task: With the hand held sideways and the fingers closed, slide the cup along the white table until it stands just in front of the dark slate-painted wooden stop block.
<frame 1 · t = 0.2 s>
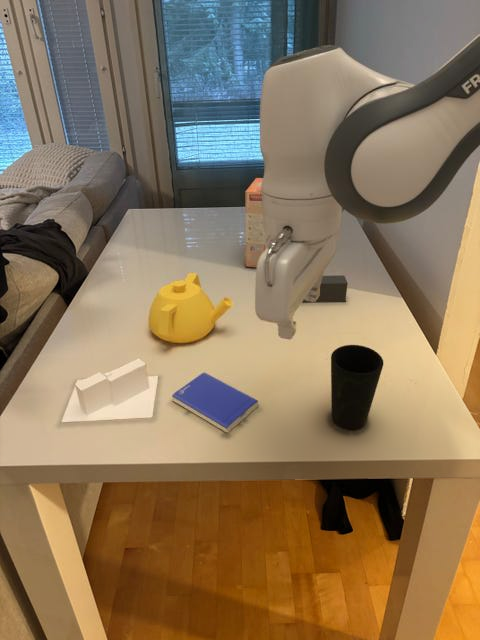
hand: (300, 316, 60), 22 cm above the table, tool pointing down, fingers open, 8 cm apart
stop block: (314, 298, 111), on the table
teapot: (192, 330, 100), on the table
napkin holder: (112, 398, 81), on the table
cup: (348, 419, 76), on the table
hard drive: (215, 404, 80), on the table
cracker box: (260, 259, 132), on the table
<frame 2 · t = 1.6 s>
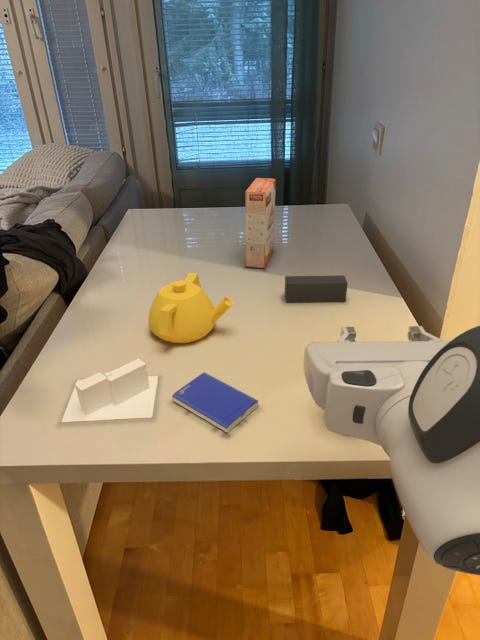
hand: (380, 331, 58), 22 cm above the table, tool horizontal, fingers open, 7 cm apart
nothing on the table moved.
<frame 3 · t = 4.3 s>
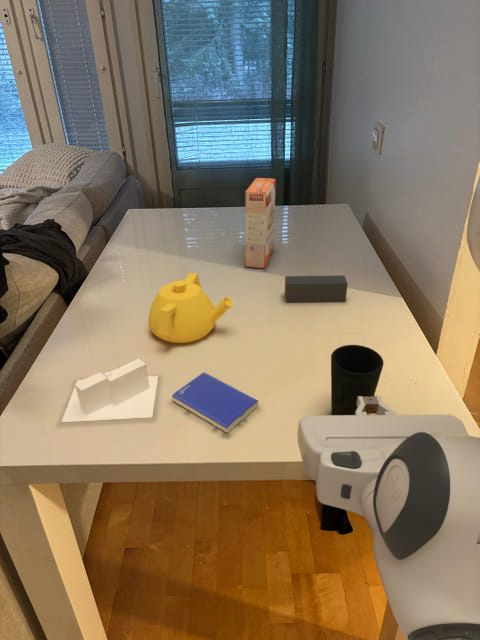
hand: (367, 399, 63), 11 cm above the table, tool horizontal, fingers closed
nothing on the table moved.
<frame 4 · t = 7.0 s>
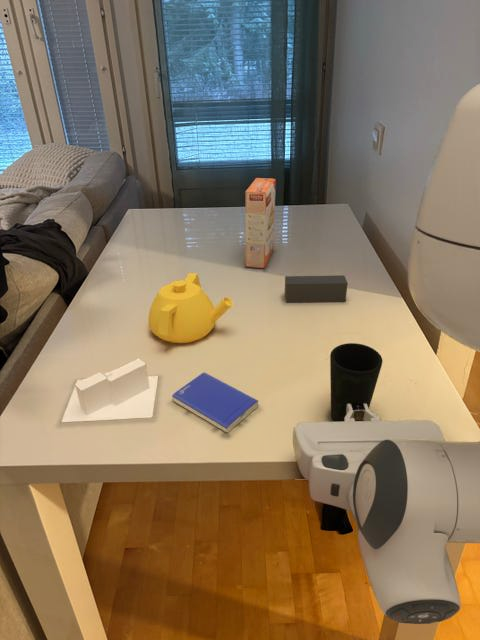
hand: (355, 406, 70), 6 cm above the table, tool horizontal, fingers closed, pressing on cup
cup: (347, 417, 76), on the table, touching gripper
everything else where it was.
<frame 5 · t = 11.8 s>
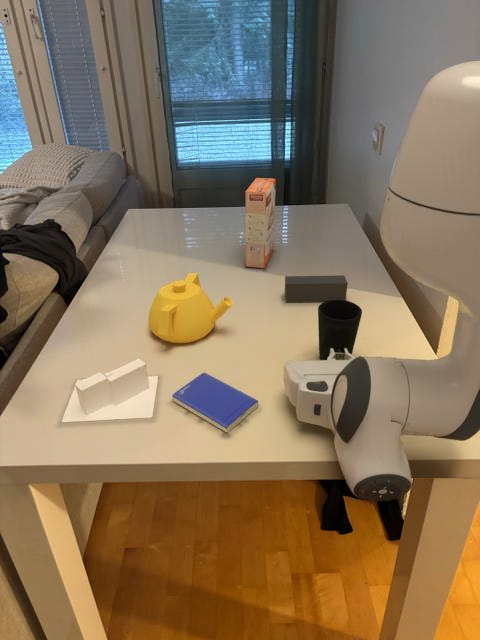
hand: (337, 351, 82), 6 cm above the table, tool horizontal, fingers closed, pressing on cup
cup: (334, 365, 89), on the table, touching gripper
everything else where it was.
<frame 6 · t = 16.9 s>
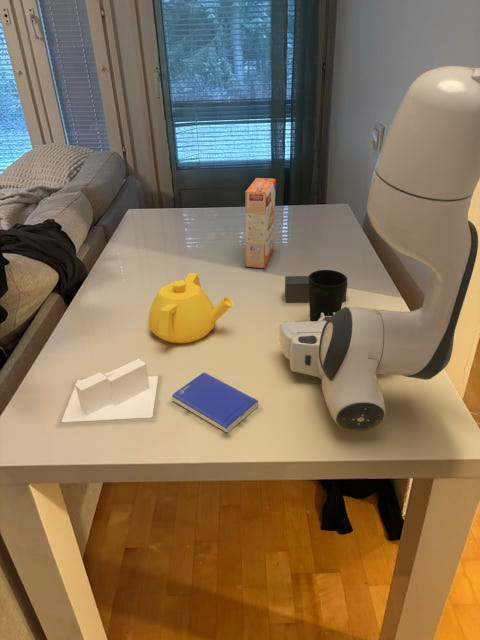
hand: (327, 315, 93), 6 cm above the table, tool horizontal, fingers closed
cup: (323, 329, 99), on the table
everything else where it was.
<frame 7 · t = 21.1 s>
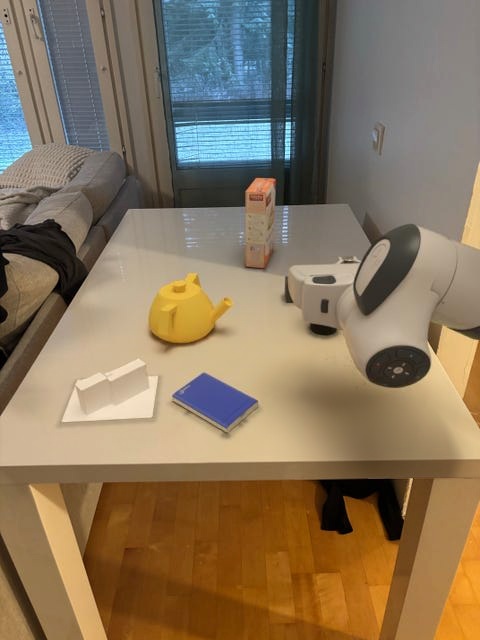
hand: (346, 260, 77), 22 cm above the table, tool horizontal, fingers closed
nothing on the table moved.
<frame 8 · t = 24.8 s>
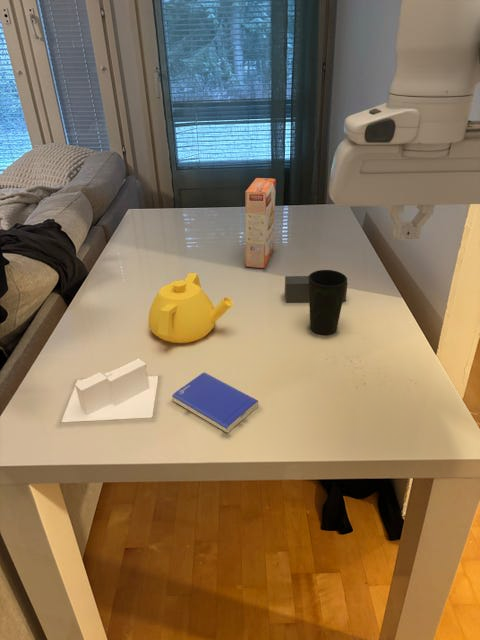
hand: (405, 237, 60), 31 cm above the table, tool pointing down, fingers closed
nothing on the table moved.
at the end: cup inside the target area on the table beside the stop block (1.9 cm from its centre), on the table; cup tilted 0° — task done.
